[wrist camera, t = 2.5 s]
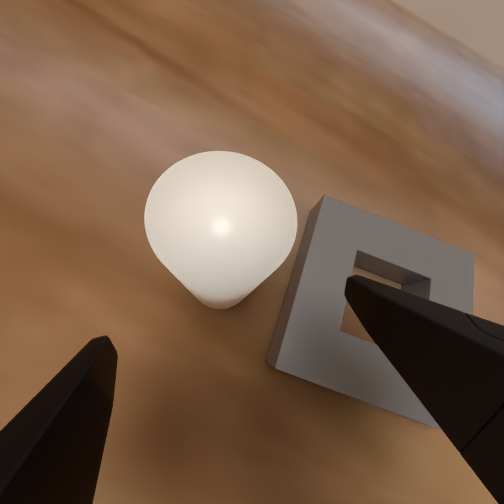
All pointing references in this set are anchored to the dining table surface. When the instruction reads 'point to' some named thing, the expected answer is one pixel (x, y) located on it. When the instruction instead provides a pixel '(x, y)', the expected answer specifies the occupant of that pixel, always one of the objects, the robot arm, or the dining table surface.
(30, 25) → the dining table surface
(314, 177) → the dining table surface
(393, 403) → the collar block
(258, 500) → the dining table surface
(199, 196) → the peg
